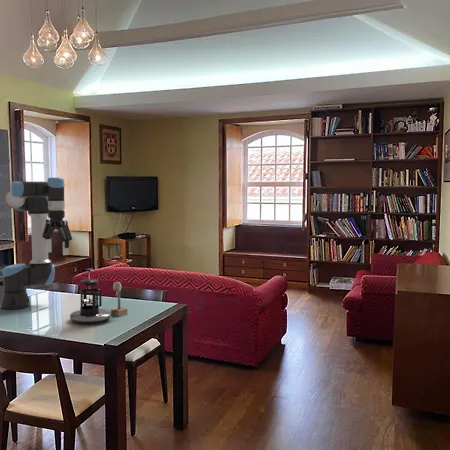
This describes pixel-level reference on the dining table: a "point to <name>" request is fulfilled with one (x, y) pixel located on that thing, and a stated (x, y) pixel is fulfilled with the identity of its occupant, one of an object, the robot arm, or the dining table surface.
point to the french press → (89, 309)
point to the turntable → (101, 316)
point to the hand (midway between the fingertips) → (57, 253)
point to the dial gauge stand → (119, 310)
